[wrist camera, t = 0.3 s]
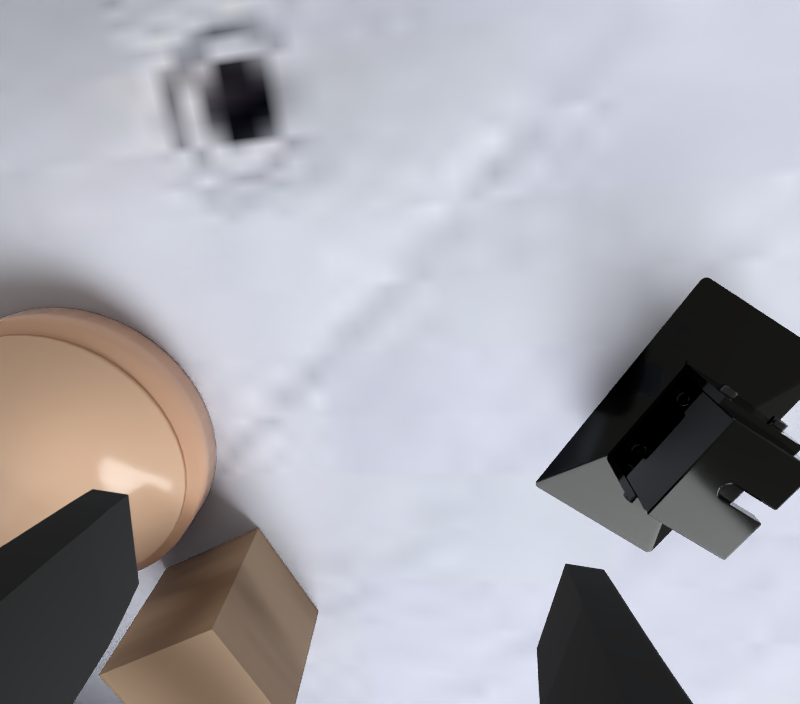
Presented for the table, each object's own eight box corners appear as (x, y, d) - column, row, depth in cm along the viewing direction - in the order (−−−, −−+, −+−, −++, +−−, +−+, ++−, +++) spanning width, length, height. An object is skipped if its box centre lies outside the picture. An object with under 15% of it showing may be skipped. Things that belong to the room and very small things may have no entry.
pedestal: (66, 583, 24) (34, 621, 22) (-108, 383, 21) (-162, 406, 19) (268, 491, 21) (251, 524, 20) (104, 256, 19) (67, 267, 17)
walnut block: (228, 645, 24) (179, 765, 20) (166, 567, 23) (98, 675, 18) (318, 609, 23) (289, 726, 19) (258, 527, 22) (212, 629, 17)
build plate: (632, 582, 23) (678, 684, 18) (479, 494, 22) (489, 579, 17) (880, 330, 19) (1012, 385, 14) (706, 209, 18) (792, 229, 13)
